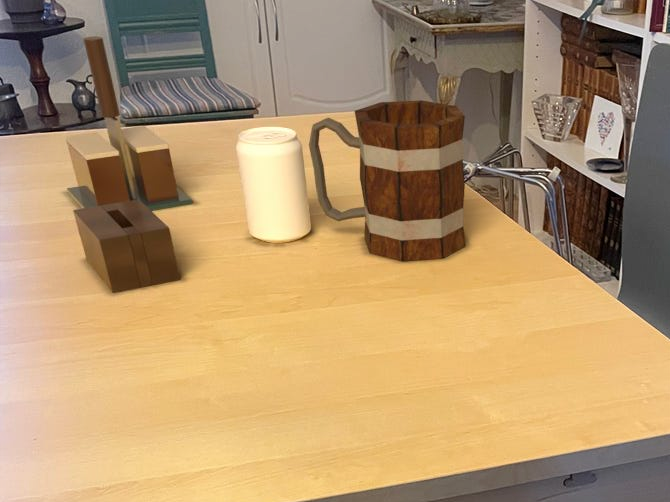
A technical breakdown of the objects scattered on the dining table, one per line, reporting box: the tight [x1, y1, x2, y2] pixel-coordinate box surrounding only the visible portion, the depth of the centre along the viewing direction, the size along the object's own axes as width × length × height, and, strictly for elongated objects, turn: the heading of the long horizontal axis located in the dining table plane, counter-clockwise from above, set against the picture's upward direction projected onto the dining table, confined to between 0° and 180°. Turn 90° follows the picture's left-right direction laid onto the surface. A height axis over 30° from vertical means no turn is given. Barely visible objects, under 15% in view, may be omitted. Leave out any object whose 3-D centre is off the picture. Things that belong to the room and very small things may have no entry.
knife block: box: [73, 199, 181, 294], centre depth 112 cm, size 12×8×6 cm, turn 32°
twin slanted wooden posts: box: [65, 125, 193, 211], centre depth 132 cm, size 14×14×8 cm
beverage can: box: [235, 126, 312, 244], centre depth 120 cm, size 8×8×12 cm
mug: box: [308, 99, 466, 262], centre depth 117 cm, size 20×14×15 cm
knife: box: [83, 36, 137, 199], centre depth 128 cm, size 6×2×19 cm, turn 31°
